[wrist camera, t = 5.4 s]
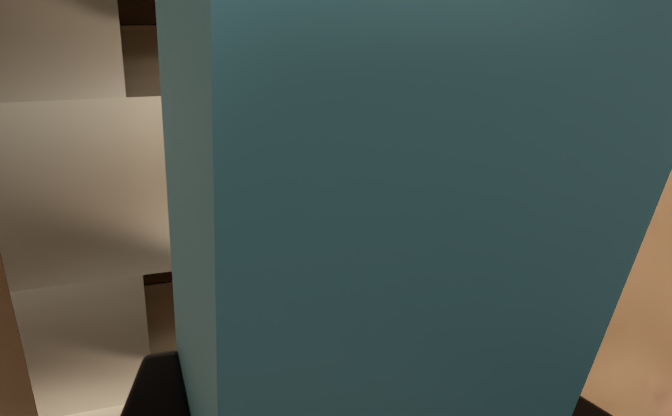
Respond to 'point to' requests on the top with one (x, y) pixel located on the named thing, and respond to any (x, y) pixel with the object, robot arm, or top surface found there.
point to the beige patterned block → (83, 200)
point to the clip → (406, 197)
